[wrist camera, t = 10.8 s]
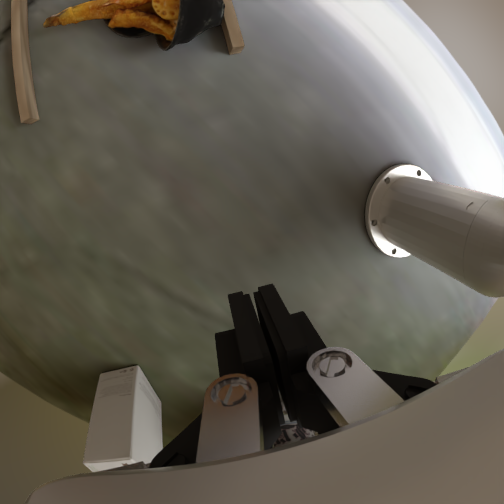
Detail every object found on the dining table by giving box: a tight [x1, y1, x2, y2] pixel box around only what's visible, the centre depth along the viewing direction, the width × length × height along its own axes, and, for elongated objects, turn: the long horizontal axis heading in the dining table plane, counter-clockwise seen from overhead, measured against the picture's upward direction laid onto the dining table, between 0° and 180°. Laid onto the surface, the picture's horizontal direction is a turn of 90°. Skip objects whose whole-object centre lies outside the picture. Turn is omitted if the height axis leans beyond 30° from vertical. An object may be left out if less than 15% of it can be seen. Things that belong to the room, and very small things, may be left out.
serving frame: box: [11, 0, 245, 124], centre depth 22 cm, size 24×19×2 cm
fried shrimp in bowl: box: [43, 0, 225, 51], centre depth 21 cm, size 9×11×18 cm
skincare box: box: [83, 365, 163, 472], centre depth 31 cm, size 8×7×16 cm
